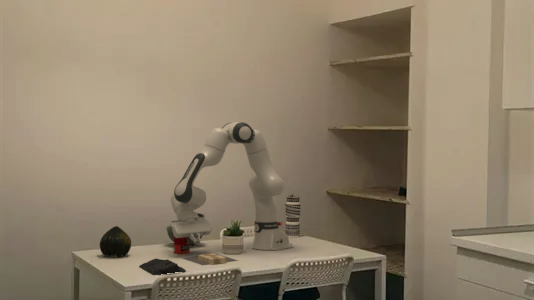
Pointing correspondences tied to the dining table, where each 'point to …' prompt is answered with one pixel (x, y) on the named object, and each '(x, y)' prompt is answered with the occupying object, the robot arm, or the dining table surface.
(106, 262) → the dining table surface
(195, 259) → the rubber mat
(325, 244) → the dining table surface
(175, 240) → the canned food
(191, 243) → the bowl
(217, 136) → the robot arm
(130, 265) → the dining table surface
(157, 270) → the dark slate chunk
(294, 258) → the dining table surface
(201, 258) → the beech tile
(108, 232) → the squash
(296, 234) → the decorative candle
